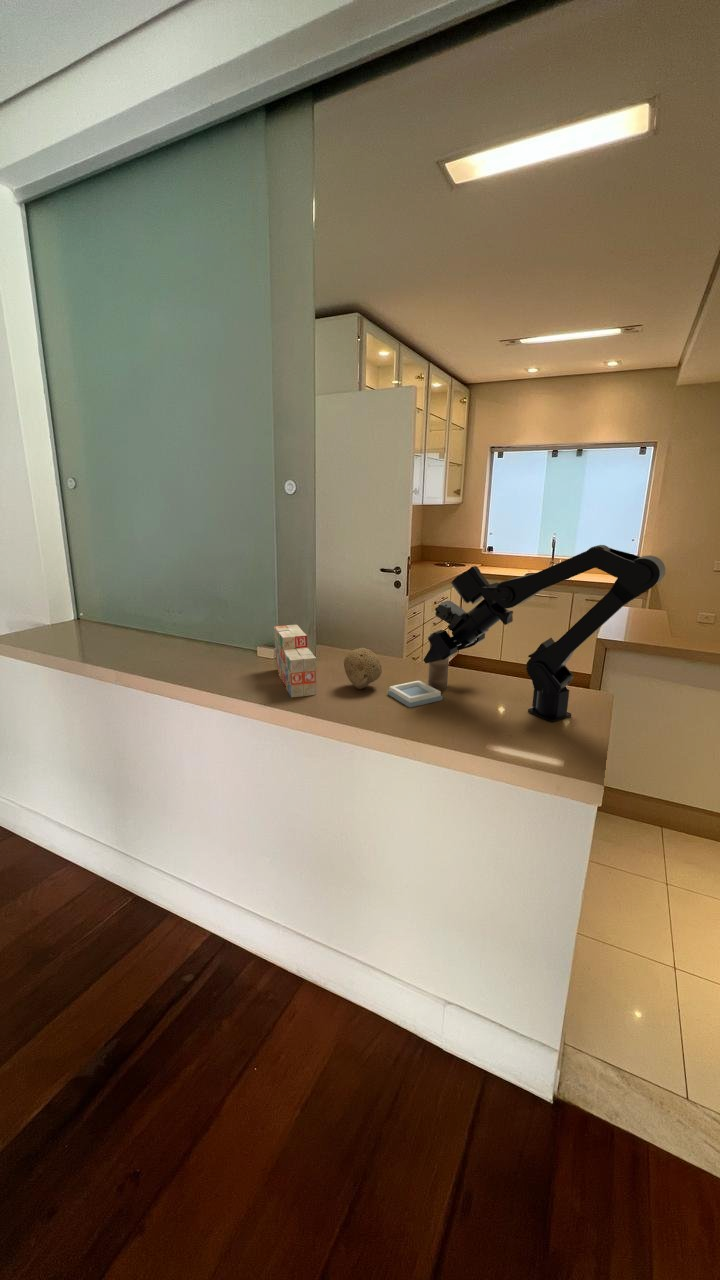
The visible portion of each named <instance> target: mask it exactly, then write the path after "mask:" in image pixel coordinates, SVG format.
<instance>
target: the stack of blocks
mask: <svg viewBox="0 0 720 1280" xmlns="http://www.w3.org/2000/svg"><path fill="white" fill-rule="evenodd" d="M273 633H274V648H275V666H276V667H277V670H278V672H279V674H280V676H279V678H280V677H281V678H280V680H281V679H282V680H283V681H284V683H283V685H284V684H285V685H284V686H286V687H285V689H286V691H287V693H288V694H289V696H290V698H299V697H301V698H302V697H308V696H316V695H317V657H316V656H315V655H314V654H313V652H312V651H311V649H309V647H308V634H306V633H305V632H304V631H303V630H302V628H301V627H300V626H299V625H298V624H288V625H287V624H286V625H276V626H273ZM276 667H275V668H276ZM277 670H276V671H277ZM278 672H277V673H278ZM279 674H278V675H279ZM282 680H281V681H282ZM283 681H282V682H283Z"/></svg>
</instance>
